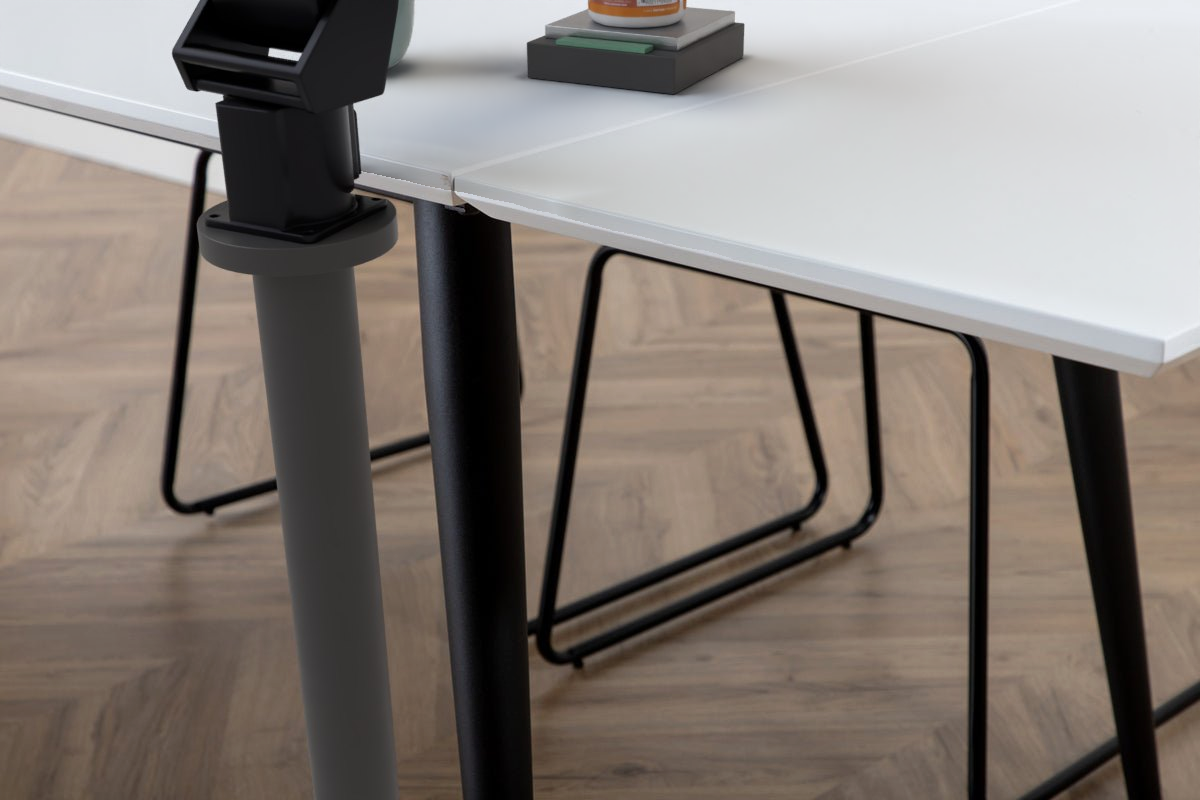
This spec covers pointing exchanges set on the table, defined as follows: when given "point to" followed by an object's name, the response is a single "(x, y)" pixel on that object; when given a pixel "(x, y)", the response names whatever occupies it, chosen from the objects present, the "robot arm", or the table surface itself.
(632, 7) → the pill bottle
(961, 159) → the table surface
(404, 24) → the cup
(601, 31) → the kitchen scale
